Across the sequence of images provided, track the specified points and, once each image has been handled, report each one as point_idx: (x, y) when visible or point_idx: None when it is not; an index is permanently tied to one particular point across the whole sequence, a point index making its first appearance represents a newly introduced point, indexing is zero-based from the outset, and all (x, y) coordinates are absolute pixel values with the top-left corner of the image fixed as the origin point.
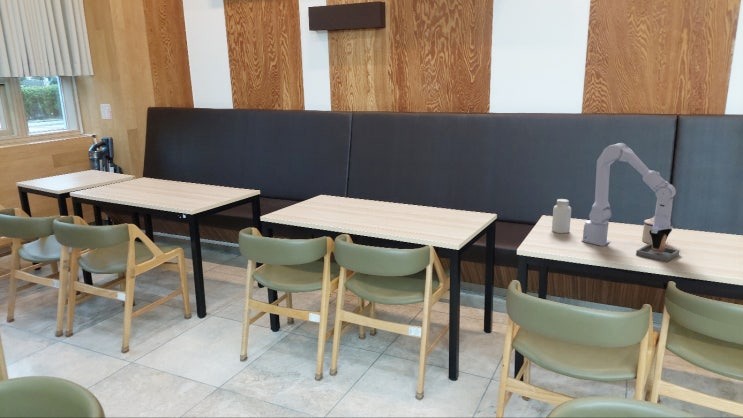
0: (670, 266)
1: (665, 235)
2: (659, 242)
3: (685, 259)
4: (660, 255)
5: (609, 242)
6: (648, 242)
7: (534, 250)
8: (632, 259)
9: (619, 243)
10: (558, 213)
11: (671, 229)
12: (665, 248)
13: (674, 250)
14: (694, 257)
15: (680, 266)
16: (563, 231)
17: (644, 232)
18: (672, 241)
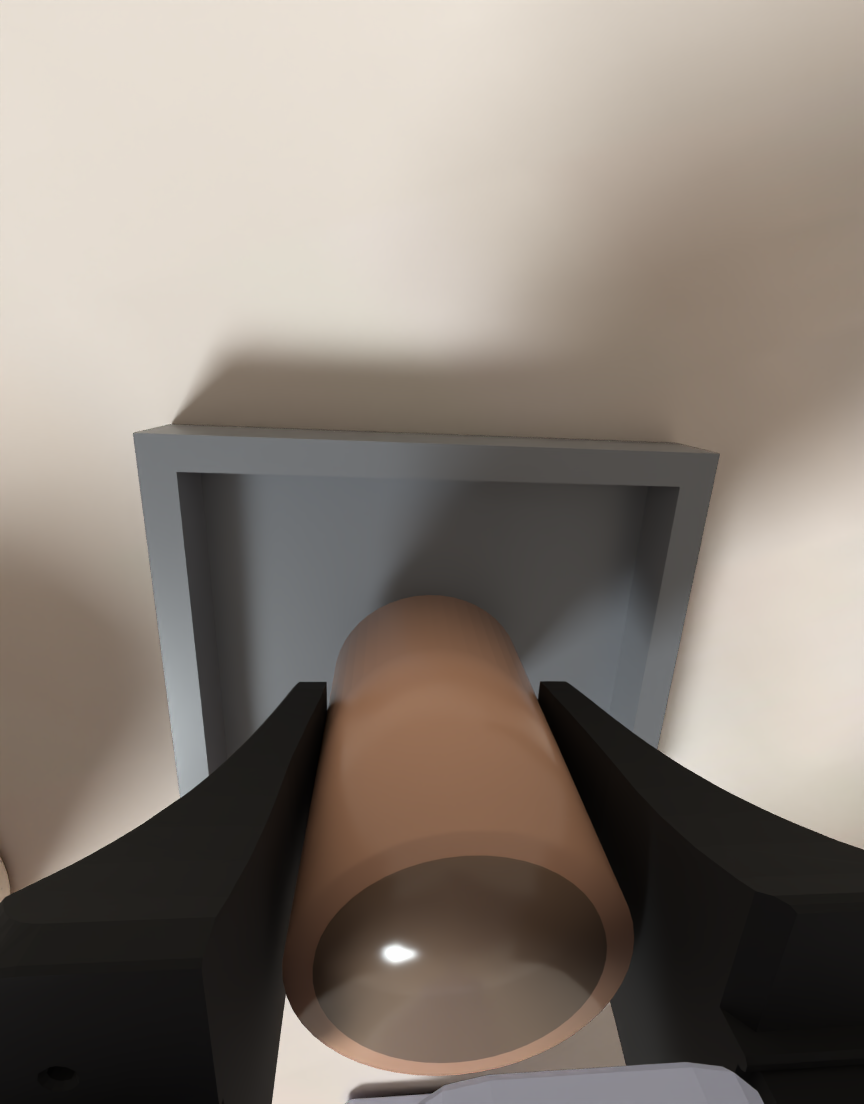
0: (830, 348)
1: (487, 840)
2: (652, 756)
3: (325, 265)
4: (667, 573)
5: (368, 1098)
6: (3, 893)
7: None
8: (790, 771)
9: (299, 1041)
10: None
11: (30, 980)
12: (199, 643)
13: (187, 505)
14: (75, 162)
15: (752, 224)
16: None
17: None
18: None
